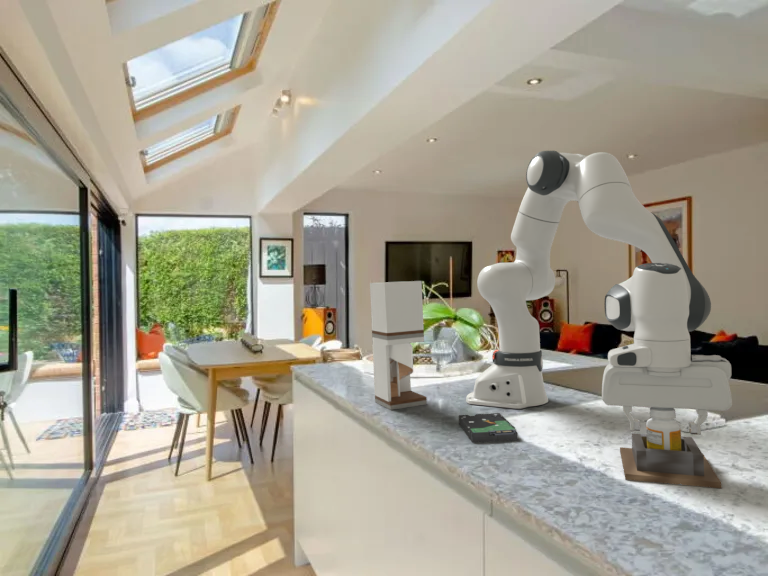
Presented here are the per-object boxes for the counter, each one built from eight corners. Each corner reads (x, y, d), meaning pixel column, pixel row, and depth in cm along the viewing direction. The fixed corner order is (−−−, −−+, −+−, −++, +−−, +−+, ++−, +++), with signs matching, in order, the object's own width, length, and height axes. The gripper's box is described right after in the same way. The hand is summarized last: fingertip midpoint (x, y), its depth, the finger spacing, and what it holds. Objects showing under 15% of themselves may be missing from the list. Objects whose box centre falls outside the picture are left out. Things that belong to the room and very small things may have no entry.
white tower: (390, 409, 141) (384, 282, 140) (375, 402, 150) (369, 283, 150) (426, 404, 145) (421, 280, 145) (409, 396, 155) (404, 281, 154)
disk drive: (458, 426, 125) (472, 445, 110) (457, 414, 125) (471, 432, 110) (499, 423, 125) (519, 441, 111) (499, 412, 125) (518, 428, 111)
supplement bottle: (678, 458, 93) (676, 405, 93) (685, 469, 88) (683, 413, 88) (645, 456, 95) (643, 404, 95) (650, 467, 90) (648, 411, 90)
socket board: (625, 479, 87) (624, 453, 87) (620, 452, 100) (619, 429, 100) (721, 488, 82) (720, 460, 82) (702, 458, 95) (702, 434, 95)
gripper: (726, 352, 90) (728, 430, 90) (599, 351, 98) (602, 423, 98) (735, 358, 84) (738, 441, 84) (600, 356, 92) (603, 433, 92)
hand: (664, 431), depth 91 cm, fingers open, 8 cm apart
